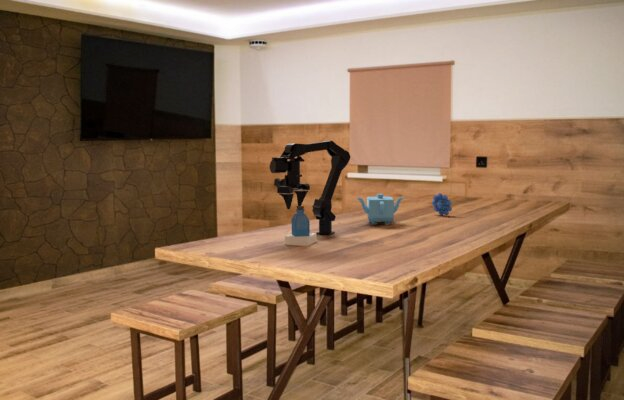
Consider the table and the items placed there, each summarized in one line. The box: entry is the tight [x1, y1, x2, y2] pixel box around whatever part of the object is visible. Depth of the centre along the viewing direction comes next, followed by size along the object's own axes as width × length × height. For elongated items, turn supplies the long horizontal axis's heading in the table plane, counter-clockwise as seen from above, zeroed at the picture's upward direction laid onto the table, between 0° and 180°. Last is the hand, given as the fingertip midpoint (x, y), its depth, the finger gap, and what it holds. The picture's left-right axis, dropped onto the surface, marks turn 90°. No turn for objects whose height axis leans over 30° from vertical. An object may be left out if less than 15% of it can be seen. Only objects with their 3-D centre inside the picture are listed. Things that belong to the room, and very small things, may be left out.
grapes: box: [431, 192, 453, 216], centre depth 322 cm, size 12×7×12 cm, turn 52°
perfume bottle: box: [291, 205, 311, 237], centre depth 248 cm, size 6×6×12 cm
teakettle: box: [356, 193, 406, 226], centre depth 299 cm, size 19×19×15 cm
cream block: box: [284, 232, 317, 247], centre depth 249 cm, size 10×10×4 cm
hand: (294, 207), depth 261 cm, fingers open, 9 cm apart
